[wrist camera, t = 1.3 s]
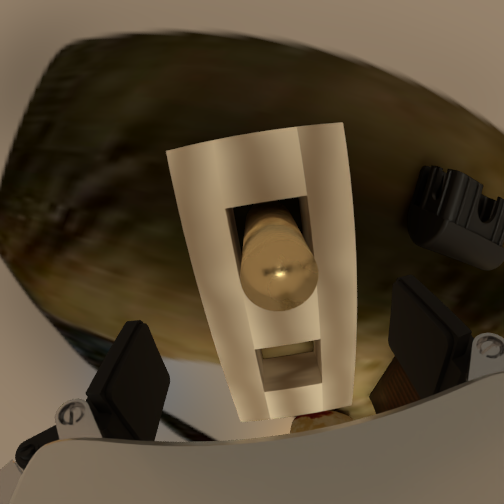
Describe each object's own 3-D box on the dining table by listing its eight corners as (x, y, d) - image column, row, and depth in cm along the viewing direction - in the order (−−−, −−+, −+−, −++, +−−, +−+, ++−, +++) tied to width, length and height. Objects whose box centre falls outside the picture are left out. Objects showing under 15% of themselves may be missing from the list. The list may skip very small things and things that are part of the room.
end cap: (396, 231, 25) (432, 257, 19) (418, 161, 23) (461, 169, 17) (461, 255, 26) (498, 281, 20) (481, 196, 24) (523, 212, 17)
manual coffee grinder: (423, 397, 34) (467, 487, 17) (366, 396, 33) (405, 509, 16) (479, 312, 29) (557, 396, 12) (426, 298, 28) (519, 410, 11)
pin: (288, 196, 24) (314, 233, 14) (294, 240, 26) (320, 304, 15) (241, 203, 24) (233, 247, 14) (249, 248, 26) (247, 316, 16)
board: (325, 126, 22) (342, 122, 17) (341, 374, 31) (351, 405, 27) (183, 150, 23) (166, 151, 18) (242, 390, 32) (240, 422, 27)
